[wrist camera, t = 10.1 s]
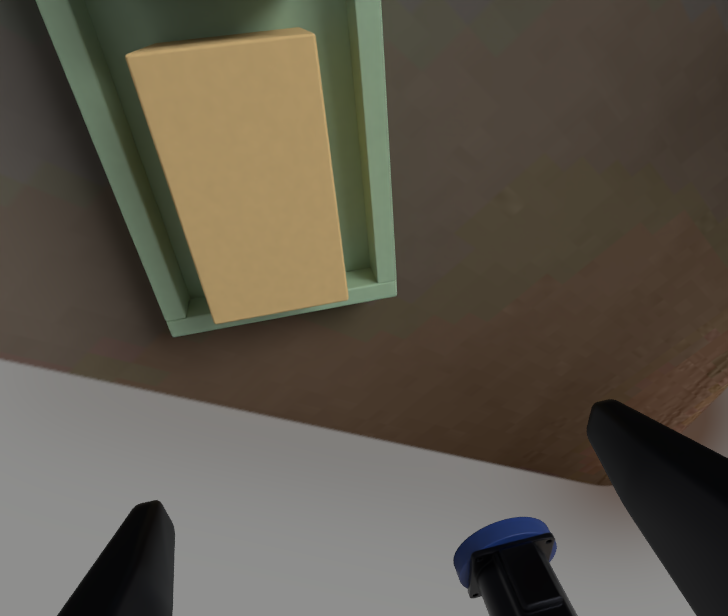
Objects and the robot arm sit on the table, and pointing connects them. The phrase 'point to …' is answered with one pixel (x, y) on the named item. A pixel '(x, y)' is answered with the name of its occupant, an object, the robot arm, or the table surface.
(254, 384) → the table surface
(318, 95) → the tan block
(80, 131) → the table surface
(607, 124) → the table surface
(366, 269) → the tray
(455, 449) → the table surface
